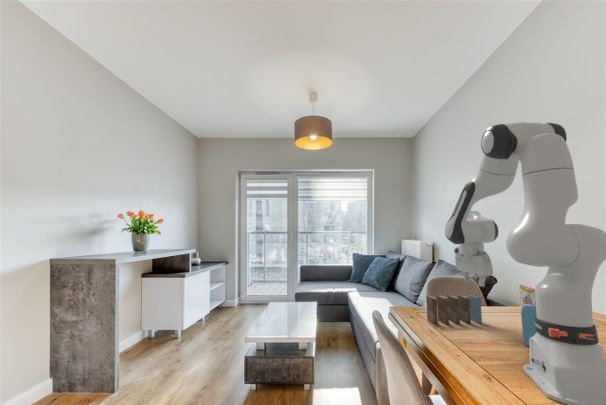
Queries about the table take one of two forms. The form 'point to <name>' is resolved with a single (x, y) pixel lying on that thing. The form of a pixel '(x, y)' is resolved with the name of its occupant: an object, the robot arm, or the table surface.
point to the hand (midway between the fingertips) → (474, 284)
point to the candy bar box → (527, 295)
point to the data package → (528, 323)
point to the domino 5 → (475, 308)
